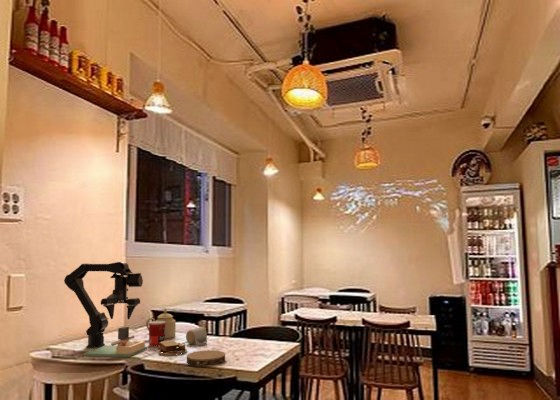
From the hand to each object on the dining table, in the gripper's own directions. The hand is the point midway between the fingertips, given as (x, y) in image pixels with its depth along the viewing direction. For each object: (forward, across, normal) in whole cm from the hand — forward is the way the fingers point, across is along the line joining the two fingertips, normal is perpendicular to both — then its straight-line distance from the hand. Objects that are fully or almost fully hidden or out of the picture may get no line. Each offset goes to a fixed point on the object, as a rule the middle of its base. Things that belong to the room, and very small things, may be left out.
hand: (120, 319), depth 221 cm
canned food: (+13, +17, +6) cm, 22 cm away
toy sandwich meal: (+14, +32, -9) cm, 36 cm away
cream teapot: (+13, +11, +23) cm, 29 cm away
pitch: (+13, +6, -12) cm, 19 cm away
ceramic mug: (+13, +37, +11) cm, 41 cm away
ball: (+10, +13, -12) cm, 20 cm away
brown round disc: (+14, +54, -21) cm, 60 cm away
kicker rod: (+11, +9, -12) cm, 19 cm away
